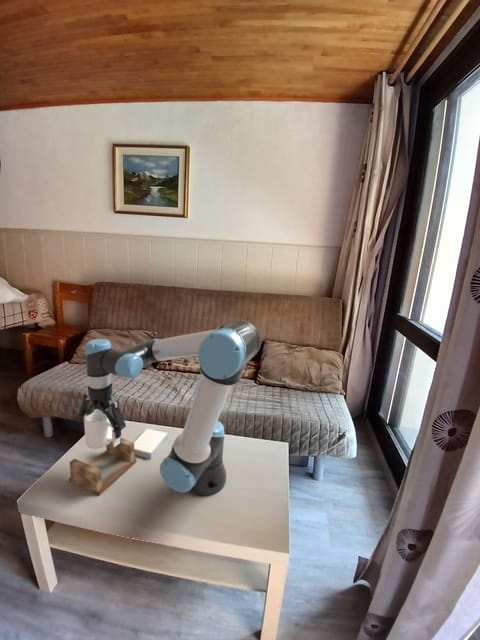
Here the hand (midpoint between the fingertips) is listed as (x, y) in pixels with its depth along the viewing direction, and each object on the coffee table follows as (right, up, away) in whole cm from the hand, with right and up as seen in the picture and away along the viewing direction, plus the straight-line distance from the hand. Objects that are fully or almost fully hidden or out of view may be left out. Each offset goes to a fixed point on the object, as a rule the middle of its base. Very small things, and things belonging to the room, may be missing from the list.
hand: (102, 439), depth 110 cm
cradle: (-1, -13, +3) cm, 13 cm away
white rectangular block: (+11, -10, +19) cm, 24 cm away
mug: (0, -1, 0) cm, 2 cm away
